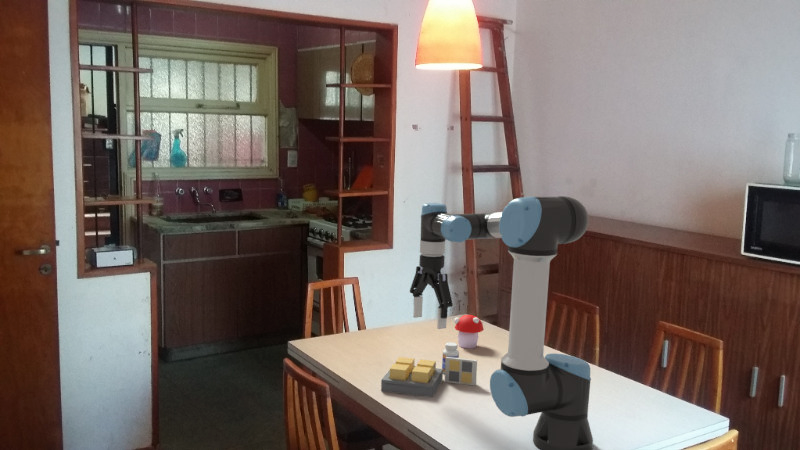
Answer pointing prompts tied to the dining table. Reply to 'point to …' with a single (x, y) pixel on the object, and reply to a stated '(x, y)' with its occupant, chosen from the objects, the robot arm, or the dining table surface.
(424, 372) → the button
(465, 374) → the plaque
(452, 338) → the dining table surface
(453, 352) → the pill bottle
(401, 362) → the button
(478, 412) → the dining table surface
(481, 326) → the mushroom
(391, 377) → the button
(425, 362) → the button
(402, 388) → the board
